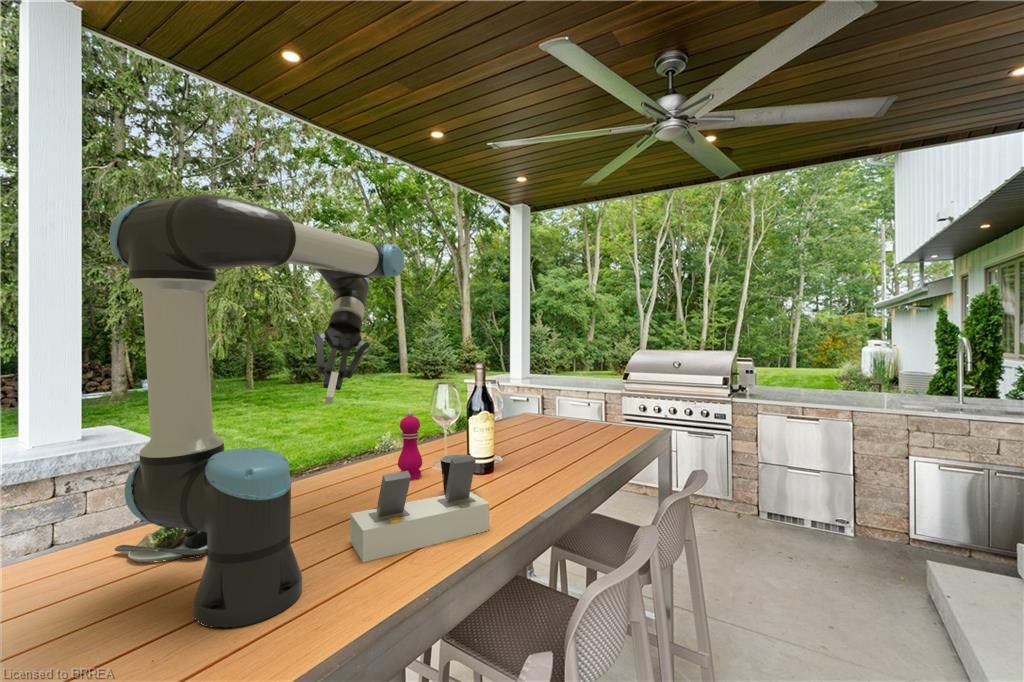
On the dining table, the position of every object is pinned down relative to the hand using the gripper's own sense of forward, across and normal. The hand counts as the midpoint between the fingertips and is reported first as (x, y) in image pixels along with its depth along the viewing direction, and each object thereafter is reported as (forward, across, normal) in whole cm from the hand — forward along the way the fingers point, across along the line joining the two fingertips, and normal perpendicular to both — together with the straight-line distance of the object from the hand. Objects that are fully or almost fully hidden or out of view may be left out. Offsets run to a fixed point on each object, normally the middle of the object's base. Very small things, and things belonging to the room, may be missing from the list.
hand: (329, 400), depth 100 cm
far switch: (+17, -30, -6) cm, 35 cm away
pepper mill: (-3, -27, -42) cm, 50 cm away
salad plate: (+24, +21, -25) cm, 40 cm away
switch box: (+24, -24, -9) cm, 35 cm away
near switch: (+22, -16, -5) cm, 27 cm away
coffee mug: (+8, -37, -26) cm, 45 cm away
